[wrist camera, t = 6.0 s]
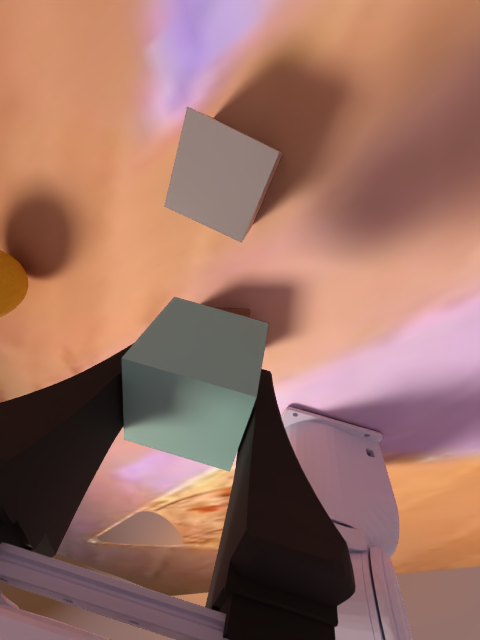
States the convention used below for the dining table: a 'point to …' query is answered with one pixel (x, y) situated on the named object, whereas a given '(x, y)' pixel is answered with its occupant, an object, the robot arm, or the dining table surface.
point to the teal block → (193, 382)
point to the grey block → (220, 175)
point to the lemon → (11, 283)
